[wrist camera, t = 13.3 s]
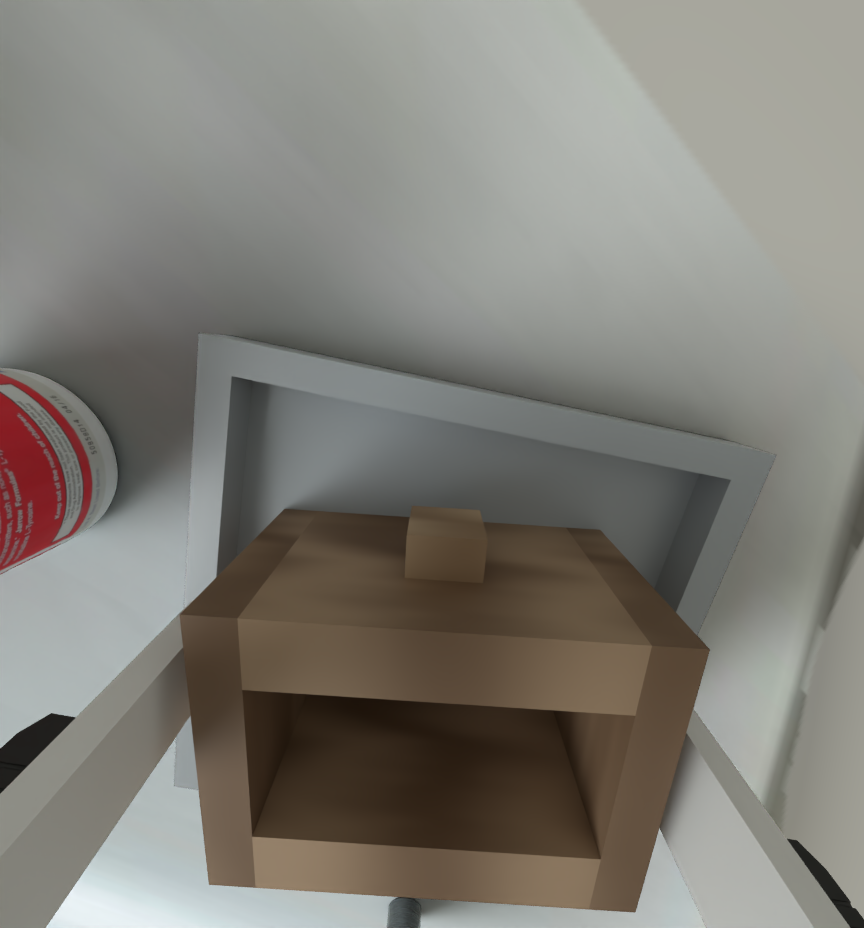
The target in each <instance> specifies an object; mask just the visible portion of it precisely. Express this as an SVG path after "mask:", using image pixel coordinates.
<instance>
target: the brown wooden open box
mask: <svg viewBox="0 0 864 928" xmlns="http://www.w3.org/2000/svg"><path fill="white" fill-rule="evenodd" d="M180 624H181V634H182V643H183V652H184V661H185V670H186V679H187V688H188V697H189V707H190V716H191V725H192V734H193V743H194V752H195V761H196V770H197V780H198V789H199V798H200V807H201V816H202V825H203V834H204V843H205V853H206V862H207V871H208V880H209V885H222V886H238V887H253V888H268V889H284V890H299V891H315V892H330V893H345V894H361V895H376V896H392V897H407V898H422V899H438V900H453V901H468V902H484V903H499V904H515V905H530V906H545V907H561V908H576V909H592V910H607V911H622V912H636V908H637V905H638V901H639V898H640V894H641V891H642V887H643V883H644V880H645V876H646V873H647V869H648V866H649V862H650V859H651V855H652V852H653V848H654V845H655V841H656V838H657V834H658V831H659V827H660V824H661V820H662V817H663V813H664V810H665V806H666V802H667V799H668V795H669V792H670V788H671V785H672V781H673V778H674V774H675V771H676V767H677V764H678V760H679V757H680V753H681V750H682V746H683V743H684V739H685V736H686V732H687V728H688V725H689V721H690V718H691V714H692V711H693V707H694V704H695V700H696V697H697V693H698V690H699V686H700V683H701V679H702V676H703V672H704V669H705V665H706V662H707V658H708V654H709V651H710V649H709V648H708V647H707V646H706V645H705V644H704V643H703V642H702V641H701V639H700V638H699V637H698V636H697V635H696V634H695V633H694V632H693V631H692V630H691V628H690V627H689V626H688V625H687V624H686V623H685V622H684V621H683V620H682V619H681V618H680V616H679V615H678V614H677V613H676V612H675V611H674V610H673V609H672V608H671V607H670V606H669V604H668V603H667V602H666V601H665V600H664V599H663V598H662V597H661V596H660V595H659V594H658V592H657V591H656V590H655V589H654V588H653V587H652V586H651V585H650V584H649V583H648V582H647V580H646V579H645V578H644V577H643V576H642V575H641V574H640V573H639V572H638V571H637V569H636V568H635V567H634V566H633V565H632V564H631V563H630V562H629V561H628V560H627V559H626V557H625V556H624V555H623V554H622V553H621V552H620V551H619V550H618V549H617V548H616V547H615V545H614V544H613V543H612V542H611V541H610V540H609V539H608V538H607V537H606V536H605V535H604V533H603V532H602V531H601V530H596V529H581V528H566V527H551V526H536V525H521V524H506V523H491V522H483V520H482V516H481V512H480V510H471V509H456V508H441V507H426V506H412V508H411V513H410V517H400V516H385V515H370V514H355V513H340V512H325V511H310V510H295V509H284V510H283V511H282V512H281V513H280V514H279V515H278V516H277V517H276V518H275V519H274V520H273V521H272V522H271V523H270V524H269V525H268V526H267V527H266V528H265V529H264V530H263V531H262V532H261V533H260V534H259V535H258V536H257V537H256V538H255V539H254V540H253V541H252V542H251V543H250V544H249V545H248V546H247V547H246V548H245V549H244V550H243V551H242V552H241V553H240V554H239V555H238V556H237V557H236V558H235V559H234V560H233V561H232V562H231V563H230V564H229V565H228V566H227V567H226V568H225V569H224V570H223V571H222V572H221V573H220V574H219V575H218V576H217V577H216V578H215V579H214V580H213V581H212V582H211V583H210V584H209V585H208V586H207V587H206V588H205V589H204V590H203V591H202V592H201V593H200V594H199V595H198V596H197V597H196V598H195V599H194V600H193V601H192V603H191V604H190V605H189V606H188V607H187V608H186V609H185V610H184V611H183V612H182V613H181V614H180Z"/></svg>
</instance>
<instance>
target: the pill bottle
mask: <svg viewBox="0 0 864 928" xmlns="http://www.w3.org/2000/svg"><path fill="white" fill-rule="evenodd" d="M117 482H118V469H117V462H116V457H115V453H114V449H113V446H112V444H111V441H110V439H109V436H108V434H107V433H106V431H105V429H104V427H103V425H102V424H101V423H100V421H99V420H98V418H97V417H96V416H95V414H94V413H93V412H92V411H91V410H90V409H89V408H88V406H87V405H86V404H85V403H84V402H82V401H81V400H80V399H79V398H78V397H77V396H76V395H74V394H73V393H72V392H71V391H69V390H68V389H66V388H65V387H63V386H61V385H60V384H58V383H56V382H54V381H53V380H51V379H48V378H46V377H44V376H41V375H38V374H36V373H32V372H28V371H23V370H18V369H11V368H0V574H2V573H4V572H6V571H8V570H10V569H12V568H14V567H16V566H18V565H20V564H22V563H24V562H26V561H28V560H30V559H32V558H34V557H36V556H39V555H41V554H43V553H44V552H46V551H48V550H50V549H53V548H54V547H56V546H58V545H60V544H62V543H64V542H67V541H68V540H70V539H72V538H74V537H75V536H77V535H79V534H81V533H82V532H84V531H85V530H87V529H89V528H90V527H91V526H93V525H94V524H95V523H96V522H97V521H98V520H99V519H100V518H101V517H102V516H103V515H104V513H105V512H106V510H107V509H108V507H109V505H110V503H111V502H112V499H113V497H114V494H115V491H116V487H117Z"/></svg>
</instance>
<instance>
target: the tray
mask: <svg viewBox="0 0 864 928" xmlns="http://www.w3.org/2000/svg"><path fill="white" fill-rule="evenodd" d="M775 457H776V455H775V454H772V453H769V452H765V451H762V450H759V449H755V448H752V447H749V446H745V445H742V444H739V443H735V442H732V441H728V440H723V439H719V438H714V437H709V436H704V435H700V434H695V433H690V432H686V431H681V430H676V429H671V428H667V427H662V426H657V425H653V424H648V423H643V422H638V421H634V420H629V419H624V418H619V417H615V416H610V415H605V414H601V413H596V412H591V411H586V410H582V409H577V408H572V407H567V406H563V405H558V404H553V403H549V402H544V401H539V400H534V399H530V398H525V397H520V396H515V395H511V394H506V393H501V392H497V391H492V390H487V389H482V388H478V387H473V386H468V385H463V384H459V383H454V382H449V381H445V380H440V379H435V378H430V377H426V376H421V375H416V374H411V373H407V372H402V371H397V370H393V369H388V368H383V367H378V366H374V365H369V364H364V363H359V362H355V361H350V360H345V359H341V358H336V357H331V356H326V355H322V354H317V353H312V352H307V351H303V350H298V349H293V348H289V347H284V346H279V345H274V344H270V343H265V342H260V341H255V340H251V339H246V338H241V337H237V336H230V335H218V334H207V333H199V335H198V354H197V372H196V390H195V408H194V427H193V445H192V463H191V481H190V500H189V518H188V536H187V554H186V573H185V591H184V608H185V607H186V606H187V605H188V604H189V603H190V602H191V601H192V600H193V599H195V598H196V597H197V596H198V595H199V594H200V593H201V592H202V591H203V590H204V589H205V588H206V587H207V586H208V585H209V584H210V583H211V582H212V581H213V580H214V579H215V578H216V577H217V576H218V575H219V574H220V573H221V572H222V571H223V570H224V569H225V568H226V567H227V566H228V565H229V564H230V563H231V562H232V561H233V560H234V559H235V558H236V557H237V556H238V555H239V554H240V553H241V552H242V551H243V550H244V549H245V548H246V547H247V546H248V545H249V544H250V543H251V542H252V541H253V540H254V539H255V538H256V537H257V536H258V535H259V534H260V533H261V532H262V531H263V530H264V529H265V528H266V527H267V526H268V525H269V524H270V523H271V522H272V521H273V520H274V519H275V518H276V517H277V516H278V515H279V514H280V513H281V512H282V511H283V510H284V509H295V510H310V511H325V512H340V513H355V514H370V515H385V516H400V517H410V513H411V508H412V506H426V507H441V508H456V509H471V510H480V512H481V516H482V520H483V522H491V523H506V524H521V525H536V526H551V527H566V528H581V529H596V530H601V531H602V532H603V533H604V535H605V536H606V537H607V538H608V539H609V540H610V541H611V542H612V543H613V544H614V545H615V547H616V548H617V549H618V550H619V551H620V552H621V553H622V554H623V555H624V556H625V557H626V559H627V560H628V561H629V562H630V563H631V564H632V565H633V566H634V567H635V568H636V569H637V571H638V572H639V573H640V574H641V575H642V576H643V577H644V578H645V579H646V580H647V582H648V583H649V584H650V585H651V586H652V587H653V588H654V589H655V590H656V591H657V592H658V594H659V595H660V596H661V597H662V598H663V599H664V600H665V601H666V602H667V603H668V604H669V606H670V607H671V608H672V609H673V610H674V611H675V612H676V613H677V614H678V615H679V616H680V618H681V619H682V620H683V621H684V622H685V623H686V624H687V625H688V626H689V627H690V628H691V630H692V631H693V632H694V633H695V634H696V635H698V633H699V630H700V628H701V626H702V624H703V621H704V619H705V617H706V614H707V612H708V610H709V608H710V605H711V603H712V601H713V599H714V596H715V594H716V592H717V589H718V587H719V585H720V583H721V580H722V578H723V576H724V573H725V571H726V569H727V567H728V564H729V562H730V560H731V558H732V555H733V553H734V551H735V548H736V546H737V544H738V542H739V539H740V537H741V535H742V533H743V530H744V528H745V526H746V523H747V521H748V519H749V517H750V514H751V512H752V510H753V507H754V505H755V503H756V501H757V498H758V496H759V494H760V492H761V489H762V487H763V485H764V482H765V480H766V478H767V476H768V473H769V471H770V469H771V467H772V464H773V462H774V460H775ZM174 786H176V787H182V788H188V789H193V790H199V789H198V780H197V770H196V761H195V752H194V743H193V734H192V725H191V716H190V717H189V718H188V720H187V721H186V723H185V724H184V726H183V727H182V729H181V730H180V732H179V733H178V735H177V737H176V755H175V774H174Z"/></svg>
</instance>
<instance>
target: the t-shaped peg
mask: <svg viewBox="0 0 864 928" xmlns="http://www.w3.org/2000/svg"><path fill="white" fill-rule="evenodd" d="M420 922H421V907H420V905H419V903H418V902H416V901H415V900H413V899H410V898H398V899H395V900H393V901H392V902H391V903H390V905H389V909H388V920H387V928H420Z"/></svg>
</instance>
